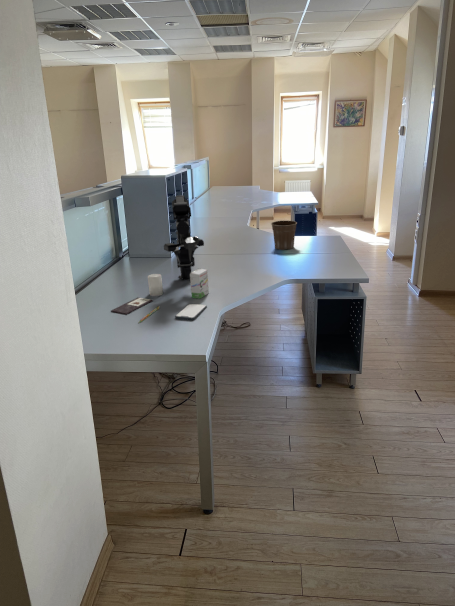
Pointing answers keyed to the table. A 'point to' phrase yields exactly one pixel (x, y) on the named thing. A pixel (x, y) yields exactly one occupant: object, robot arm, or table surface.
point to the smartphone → (191, 312)
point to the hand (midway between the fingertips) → (185, 262)
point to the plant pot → (284, 234)
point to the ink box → (199, 283)
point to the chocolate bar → (131, 306)
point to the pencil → (149, 314)
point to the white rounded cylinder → (155, 284)
